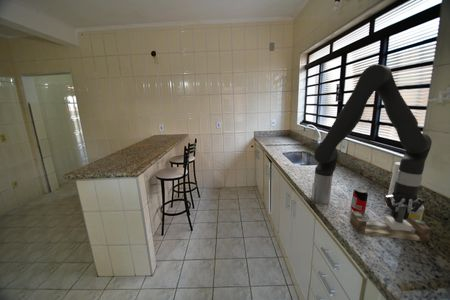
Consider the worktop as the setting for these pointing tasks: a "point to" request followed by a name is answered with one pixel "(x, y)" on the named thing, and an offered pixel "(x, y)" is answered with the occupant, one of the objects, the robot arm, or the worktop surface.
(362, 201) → the beverage can
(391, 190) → the cylindrical container
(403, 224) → the carriage
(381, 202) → the worktop surface
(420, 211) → the supplement bottle
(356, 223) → the rail
